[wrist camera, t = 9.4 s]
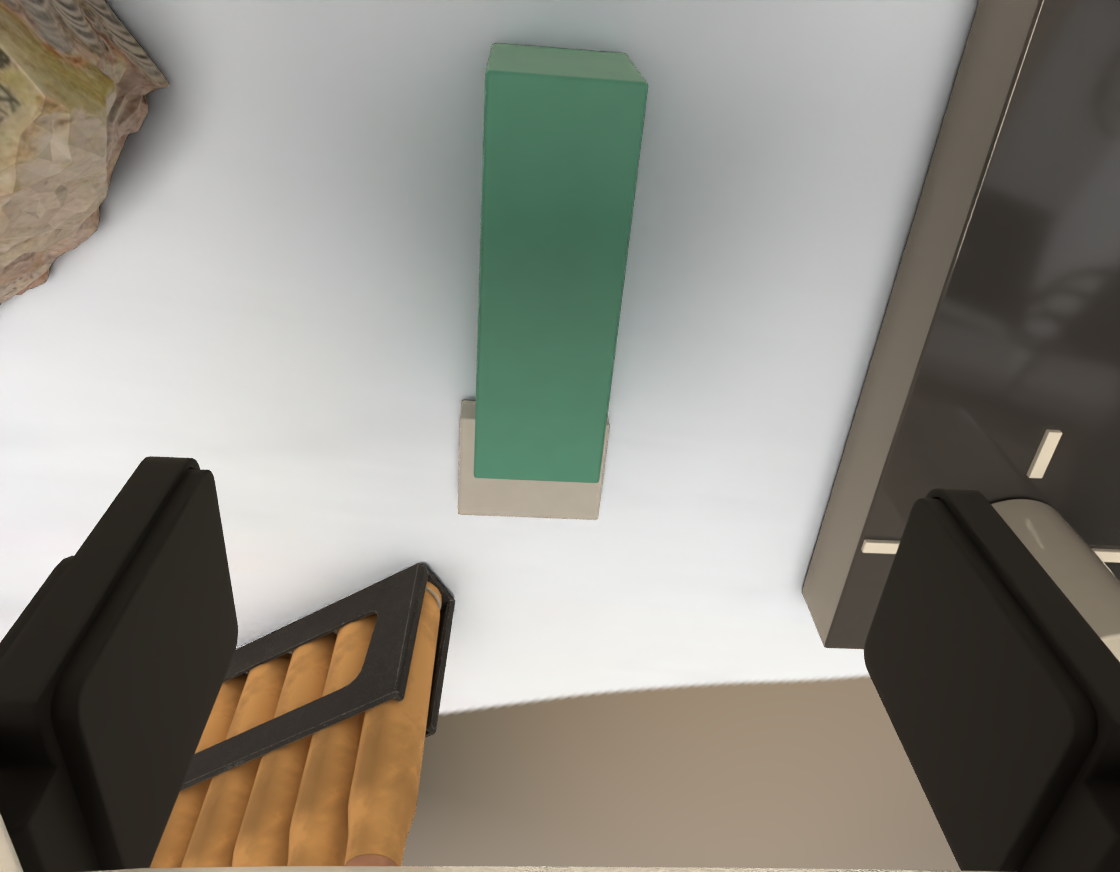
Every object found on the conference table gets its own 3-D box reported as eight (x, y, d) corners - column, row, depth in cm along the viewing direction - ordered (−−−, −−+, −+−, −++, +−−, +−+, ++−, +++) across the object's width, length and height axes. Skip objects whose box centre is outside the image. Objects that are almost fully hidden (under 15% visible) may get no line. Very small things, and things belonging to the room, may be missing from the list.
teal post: (650, 54, 19) (675, 85, 16) (595, 500, 25) (605, 587, 22) (468, 40, 19) (457, 68, 15) (460, 494, 25) (450, 581, 22)
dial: (959, 494, 22) (1068, 641, 18) (1088, 501, 23) (1228, 647, 18) (917, 596, 24) (1007, 753, 20) (1037, 602, 25) (1152, 757, 20)
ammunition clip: (424, 560, 26) (361, 975, 16) (457, 599, 27) (417, 1015, 17) (158, 686, 29) (-42, 1115, 18) (196, 718, 30) (25, 1144, 19)
